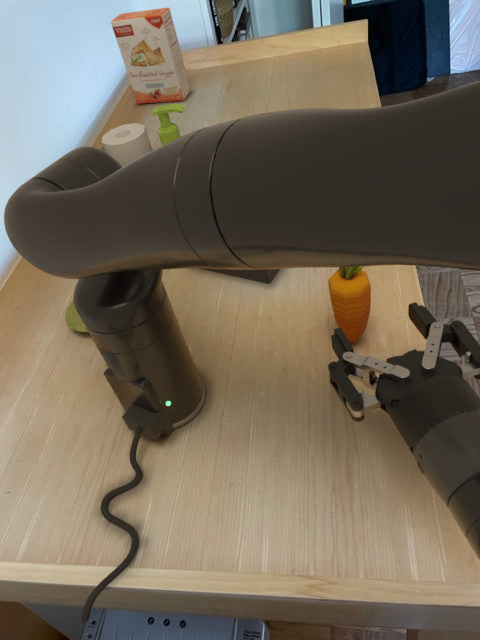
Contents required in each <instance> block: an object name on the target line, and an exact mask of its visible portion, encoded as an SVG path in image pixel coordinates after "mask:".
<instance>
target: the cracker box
mask: <svg viewBox="0 0 480 640" xmlns="http://www.w3.org/2000/svg"><path fill="white" fill-rule="evenodd" d="M172 16H173V15H172V12H171V8H170V7H162V8H155V9H147V10H138V11H132V12H123V13H120V14H118V15H117V16H116V17H114V18H113V19H112V20H111V21H110V24H111V27H112V30H113V34H114V36H115V39H116V40H115V41H116V42H117V46H118V49H119V50H120V51H119V52H120V55H121V57H122V61H123V64H124V66H125V69H126V72H127V75H128V79H129V82H130V85H131V88H132V91H133V94H134V97H135V100H136V103H137V105H139V104H140V105H143V104H152V103H153V104H156V103H170V102H171V103H172V102H184V101H185V100H186V98H188V96H189V95H190V93H191V92H192V91H191V85H190V82H189V78H188V74H187V70H186V67H185V63H184V58H183V54H182V51H181V47H180V44H179V39H178V35H177V31H176V27H175V23H174V20H173V17H172Z"/></svg>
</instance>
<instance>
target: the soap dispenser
mask: <svg viewBox="0 0 480 640" xmlns="http://www.w3.org/2000/svg"><path fill="white" fill-rule="evenodd" d="M186 108H187V105H186V104H180V103H168V104H163V105H159V106H155V107H154V108H153V110H152V112H151V114H152V116H153V117H154V116H158V120H159V123H160V126H159V127H158V128H157V134H158V137H159V140H160V143H161V145H160V146H159V147H161V146H163V145H165V144H167V143H169V142H171V141H173V140H175V139H177V138H179V137H181V134H180V129H179V127H178V125H177V123H174V122H172V121H171V117H170V115H169V114H173V113H177V114H182V113H183V112H184V111H185V109H186Z"/></svg>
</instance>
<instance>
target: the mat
mask: <svg viewBox="0 0 480 640" xmlns="http://www.w3.org/2000/svg"><path fill="white" fill-rule="evenodd" d="M64 319H65V322H66V325H67V326H68V327H69V328H70V329H72V330H73V331H75V332H80V333H81V332H82V333H89V332H88V330H87V328H86V327H85V325H84V323H83V321H82V320H81V318H80V316H79V314H78V313H77V310H76V308H75V305H74V300H73V299H72V301H71V302H70V303H69V305H68V306H67V307H66V310H65V314H64Z"/></svg>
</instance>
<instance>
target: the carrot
mask: <svg viewBox="0 0 480 640" xmlns="http://www.w3.org/2000/svg"><path fill="white" fill-rule="evenodd" d="M365 267H366V266H363V267H338V269H337V270H336V271H335V272H334V273H333V274H331V275H330V277H329V278H328V281H327V285H328V291H329V292H328V293H329V298H330V303H331V309H332V312H333V316H334V319H335V322H336V325H337V328H339V327H340V328H341V329H342V331H343V332H344V334H345V336H346V337H347V339H348V341H349V342H350V344H356V343H358V341H359V340H360V339H361V337H362V336H363V334H364V333H365V331H366V329H367V327H368V322H369V320H370V319H369V318H370V314H371V304H372V303H371V302H372V286H371V282H370V279H369V277H368V273H367V271H366V270H363V269H364V268H365Z"/></svg>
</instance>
